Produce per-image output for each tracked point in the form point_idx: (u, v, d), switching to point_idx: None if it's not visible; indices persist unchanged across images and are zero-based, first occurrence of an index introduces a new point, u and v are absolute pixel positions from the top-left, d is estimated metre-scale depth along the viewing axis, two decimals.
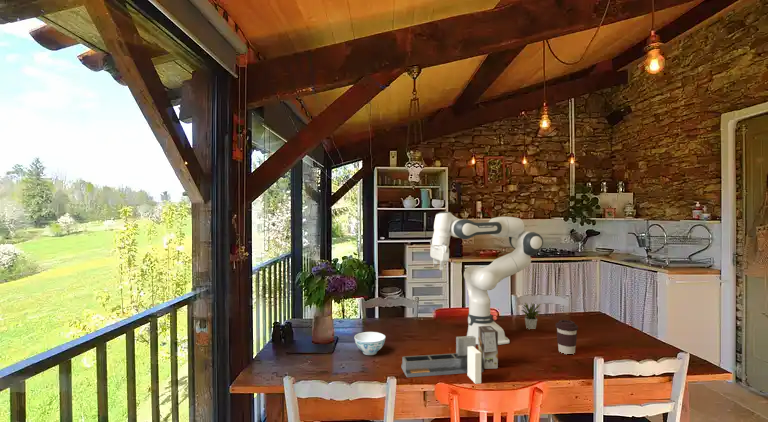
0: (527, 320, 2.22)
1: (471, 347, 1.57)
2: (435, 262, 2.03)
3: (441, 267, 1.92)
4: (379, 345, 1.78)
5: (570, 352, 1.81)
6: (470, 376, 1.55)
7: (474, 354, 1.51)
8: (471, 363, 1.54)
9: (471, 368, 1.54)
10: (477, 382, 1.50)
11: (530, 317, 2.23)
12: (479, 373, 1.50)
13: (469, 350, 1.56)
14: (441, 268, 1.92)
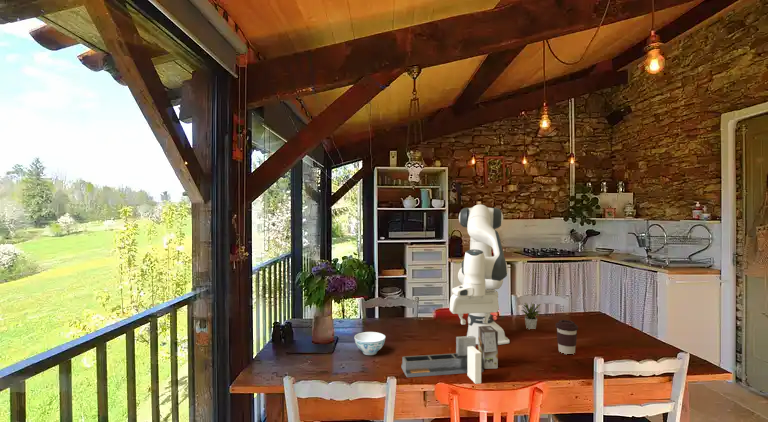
0: (527, 320, 2.22)
1: (471, 347, 1.57)
2: None
3: None
4: (379, 345, 1.78)
5: (570, 352, 1.81)
6: (470, 376, 1.55)
7: (474, 354, 1.51)
8: (471, 363, 1.54)
9: (471, 368, 1.54)
10: (477, 382, 1.50)
11: (530, 317, 2.23)
12: (479, 373, 1.50)
13: (469, 350, 1.56)
14: None
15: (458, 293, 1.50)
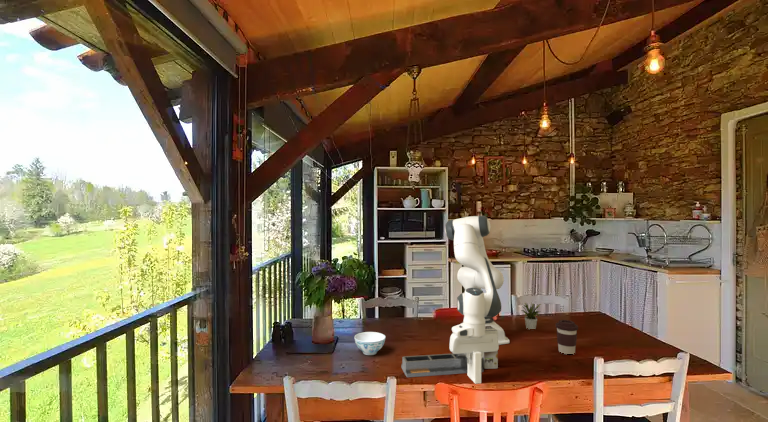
0: (527, 320, 2.22)
1: None
2: None
3: None
4: (379, 345, 1.78)
5: (570, 352, 1.81)
6: (470, 376, 1.55)
7: (474, 354, 1.51)
8: (471, 363, 1.54)
9: (471, 368, 1.54)
10: (477, 382, 1.50)
11: (530, 317, 2.23)
12: (479, 373, 1.50)
13: None
14: None
15: (458, 333, 1.50)
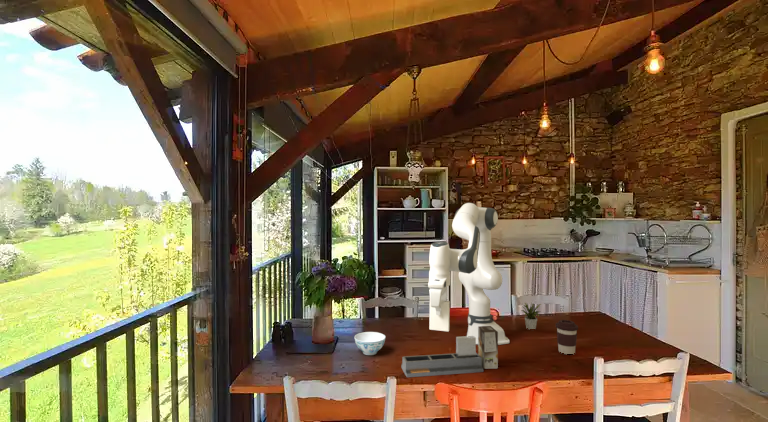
0: (527, 320, 2.22)
1: None
2: None
3: None
4: (379, 345, 1.78)
5: (570, 352, 1.81)
6: (437, 328, 1.58)
7: (446, 303, 1.57)
8: None
9: (439, 319, 1.57)
10: (448, 329, 1.57)
11: (530, 317, 2.23)
12: None
13: None
14: None
15: (443, 286, 1.50)
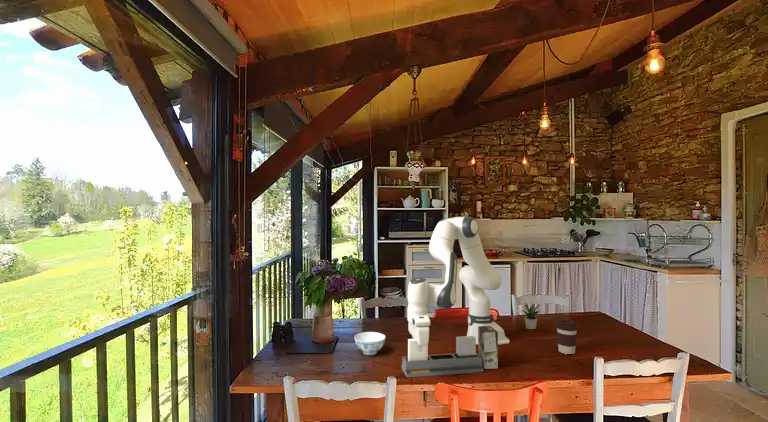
0: (527, 320, 2.22)
1: (411, 340, 1.61)
2: None
3: None
4: (379, 345, 1.78)
5: (570, 352, 1.81)
6: None
7: None
8: (419, 353, 1.60)
9: (419, 358, 1.60)
10: None
11: (530, 317, 2.23)
12: None
13: (414, 343, 1.60)
14: None
15: None
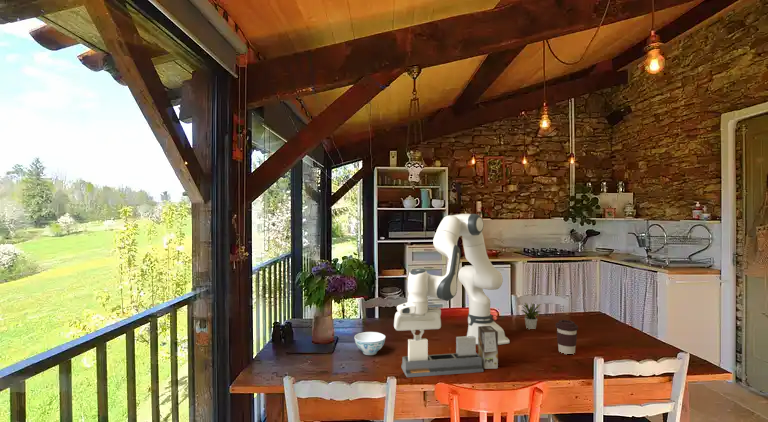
0: (527, 320, 2.22)
1: (411, 340, 1.61)
2: (414, 334, 1.61)
3: None
4: (379, 345, 1.78)
5: (570, 352, 1.81)
6: None
7: (425, 342, 1.61)
8: (419, 353, 1.60)
9: (419, 358, 1.60)
10: None
11: (530, 317, 2.23)
12: None
13: (414, 343, 1.60)
14: None
15: (400, 311, 1.57)
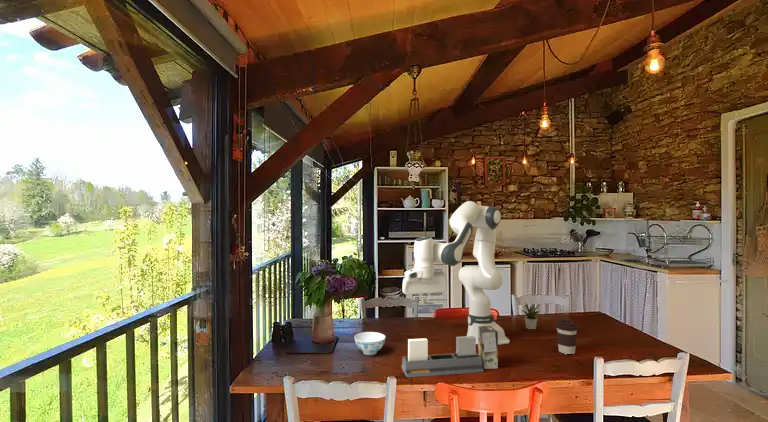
0: (527, 320, 2.22)
1: (411, 340, 1.61)
2: None
3: None
4: (379, 345, 1.78)
5: (570, 352, 1.81)
6: None
7: (425, 342, 1.61)
8: (419, 353, 1.60)
9: (419, 358, 1.60)
10: None
11: (530, 317, 2.23)
12: None
13: (414, 343, 1.60)
14: None
15: (408, 276, 1.66)
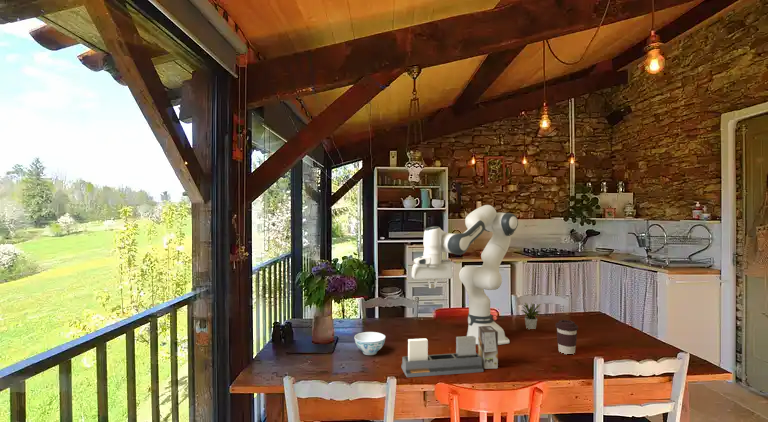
0: (527, 320, 2.22)
1: (411, 340, 1.61)
2: None
3: None
4: (379, 345, 1.78)
5: (570, 352, 1.81)
6: None
7: (425, 342, 1.61)
8: (419, 353, 1.60)
9: (419, 358, 1.60)
10: None
11: (530, 317, 2.23)
12: None
13: (414, 343, 1.60)
14: None
15: (418, 262, 1.80)
